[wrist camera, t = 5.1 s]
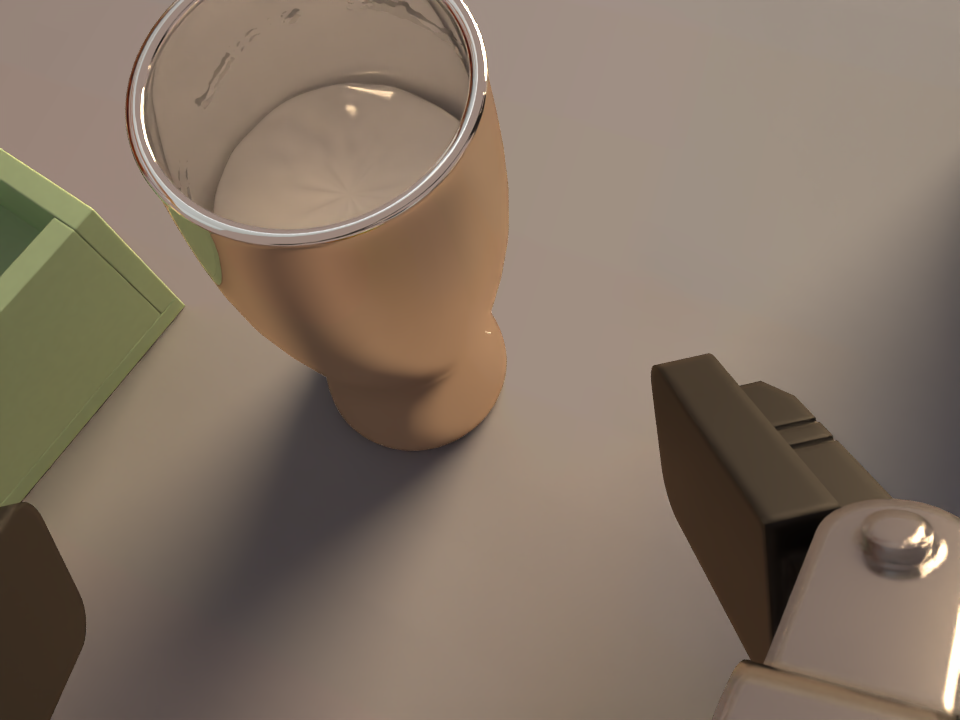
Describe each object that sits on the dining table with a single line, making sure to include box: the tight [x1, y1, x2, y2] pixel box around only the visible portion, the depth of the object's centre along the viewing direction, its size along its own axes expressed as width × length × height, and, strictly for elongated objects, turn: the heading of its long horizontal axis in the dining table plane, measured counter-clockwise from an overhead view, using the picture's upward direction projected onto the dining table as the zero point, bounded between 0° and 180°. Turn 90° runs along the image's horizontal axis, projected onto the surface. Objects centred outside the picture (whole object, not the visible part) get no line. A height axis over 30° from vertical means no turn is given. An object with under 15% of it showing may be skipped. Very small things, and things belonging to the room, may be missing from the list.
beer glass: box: [125, 0, 509, 451], centre depth 23 cm, size 7×7×15 cm
